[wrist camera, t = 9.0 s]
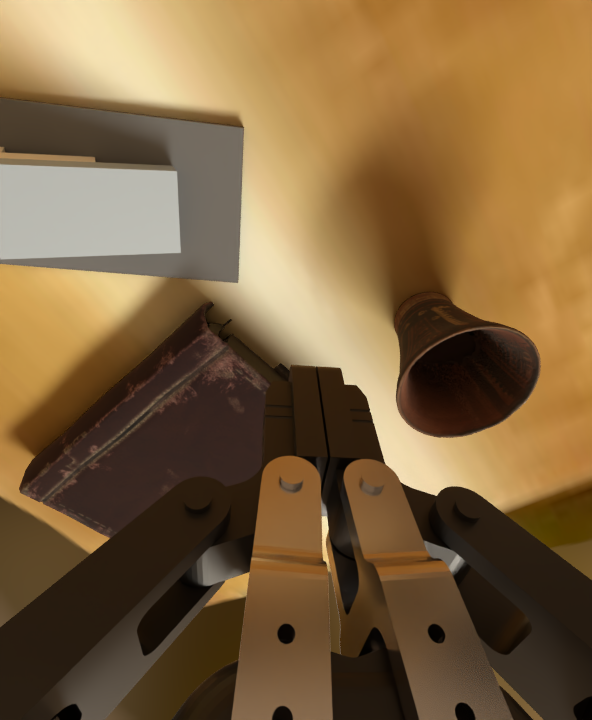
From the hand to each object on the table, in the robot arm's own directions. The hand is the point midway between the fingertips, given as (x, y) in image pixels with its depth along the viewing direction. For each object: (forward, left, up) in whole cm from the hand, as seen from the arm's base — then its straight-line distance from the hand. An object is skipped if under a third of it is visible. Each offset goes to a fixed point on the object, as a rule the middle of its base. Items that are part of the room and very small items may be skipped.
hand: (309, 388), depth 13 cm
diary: (+22, -7, -20) cm, 30 cm away
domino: (0, -7, -18) cm, 19 cm away
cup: (+7, +12, -19) cm, 24 cm away
